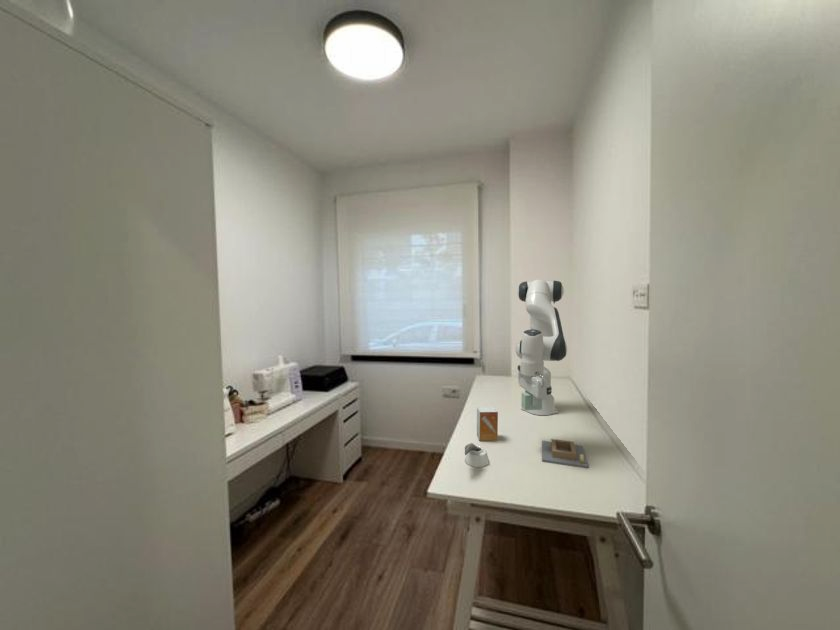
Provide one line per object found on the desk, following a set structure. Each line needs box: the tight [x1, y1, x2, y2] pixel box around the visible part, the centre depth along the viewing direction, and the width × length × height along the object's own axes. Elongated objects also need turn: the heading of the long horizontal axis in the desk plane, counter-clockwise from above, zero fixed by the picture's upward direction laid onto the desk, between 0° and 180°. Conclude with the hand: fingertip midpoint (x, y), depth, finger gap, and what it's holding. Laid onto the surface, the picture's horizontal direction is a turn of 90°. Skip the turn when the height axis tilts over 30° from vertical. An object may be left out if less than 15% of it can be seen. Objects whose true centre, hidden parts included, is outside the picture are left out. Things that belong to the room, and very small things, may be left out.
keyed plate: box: [541, 438, 589, 469], centre depth 137 cm, size 18×16×4 cm
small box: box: [476, 406, 499, 442], centre depth 152 cm, size 8×6×13 cm
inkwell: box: [464, 442, 490, 468], centre depth 127 cm, size 9×18×10 cm, turn 156°
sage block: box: [521, 392, 542, 411], centre depth 141 cm, size 4×7×6 cm, turn 94°
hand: (531, 403), depth 141 cm, fingers closed on sage block, 4 cm apart
